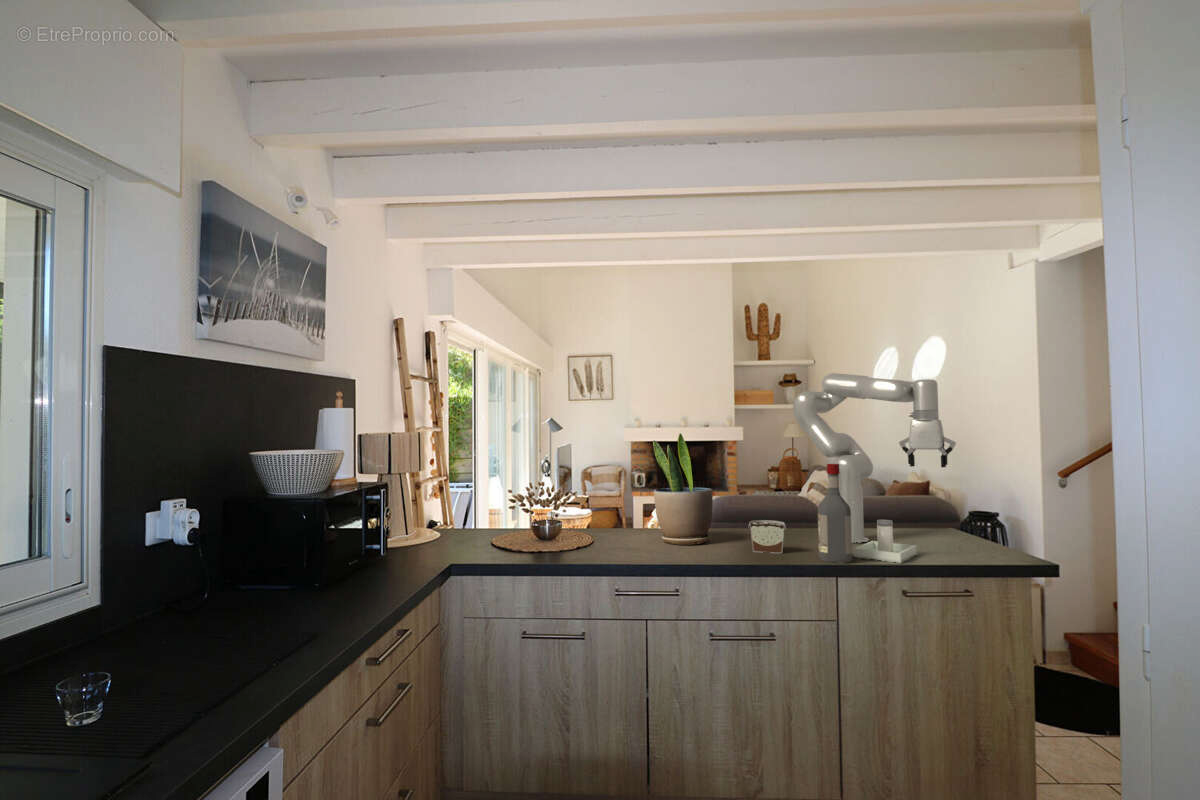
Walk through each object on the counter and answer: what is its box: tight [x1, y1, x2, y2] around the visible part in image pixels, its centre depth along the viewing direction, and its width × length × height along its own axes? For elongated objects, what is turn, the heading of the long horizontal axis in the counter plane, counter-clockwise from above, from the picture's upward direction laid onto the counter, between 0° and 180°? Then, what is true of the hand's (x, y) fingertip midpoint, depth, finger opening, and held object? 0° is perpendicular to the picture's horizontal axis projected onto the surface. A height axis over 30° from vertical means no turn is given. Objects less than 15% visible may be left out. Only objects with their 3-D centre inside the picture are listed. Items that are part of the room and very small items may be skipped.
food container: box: [748, 519, 787, 554], centre depth 212 cm, size 12×6×10 cm, turn 71°
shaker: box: [876, 519, 894, 552], centre depth 202 cm, size 5×5×11 cm
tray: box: [853, 540, 918, 564], centre depth 202 cm, size 14×18×3 cm
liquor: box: [817, 463, 853, 564], centre depth 196 cm, size 9×9×30 cm
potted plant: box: [652, 432, 714, 546], centre depth 231 cm, size 21×22×40 cm
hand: (927, 466), depth 211 cm, fingers open, 9 cm apart
